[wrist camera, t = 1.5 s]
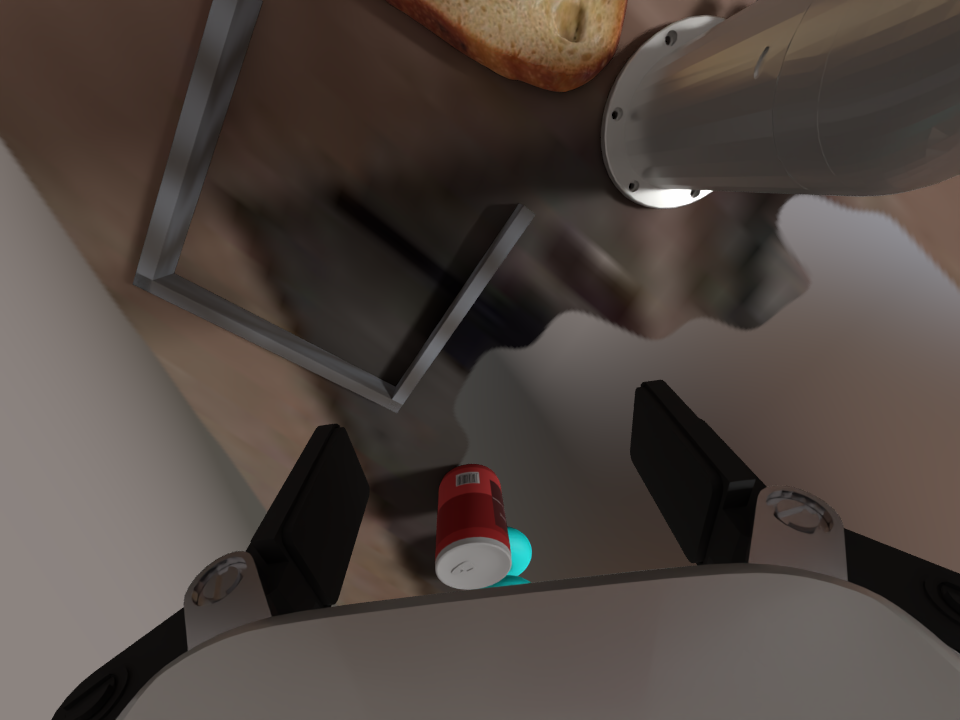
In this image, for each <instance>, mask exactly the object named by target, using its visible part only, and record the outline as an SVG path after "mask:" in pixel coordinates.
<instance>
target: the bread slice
mask: <svg viewBox="0 0 960 720" xmlns="http://www.w3.org/2000/svg"><path fill="white" fill-rule="evenodd" d="M386 1H387V2H388V3H389V4H391V5H392V6H393V7H395V8H397V9H399V10H401V11H403V12H404V13H406V14H407V15H409V16H410V17H411V18H413V19H414V20H416V21H417V22H419V23H420V24H422V25H423V26H425V27H426V28H427V29H429V30H430V31H432V32H433V33H434V34H436V35H437V36H439V37H440V38H442V39H443V40H444V41H446V42H447V43H449V44H450V45H452V46H453V47H454V48H456V49H457V50H459V51H460V52H462V53H463V54H465V55H467V56H468V57H470V58H471V59H473V60H475V61H477V62H478V63H480V64H482V65H484V66H486V67H488V68H489V69H491V70H492V71H494V72H495V73H497V74H499V75H501V76H503V77H506V78H508V79H512V80H520V81H523V82H526V83H528V84H531V85H533V86H536V87H539V88H543V89H546V90H550V91H556V92H566V91H569V90H572V89H575V88H578V87H580V86H582V85H584V84H585V83H587V82H589V81H590V80H592V79H593V78H594V77H595V76H596V75H597V74H598V73H599V72H600V71H601V70H602V69H603V68H604V67H605V66H606V65H607V64H608V63H609V62H610V60H611V59H612V58H613V56H614V54H615V52H616V49H617V46H618V43H619V39H620V35H621V31H622V26H623V22H624V17H625V12H626V7H627V1H628V0H386Z"/></svg>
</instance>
